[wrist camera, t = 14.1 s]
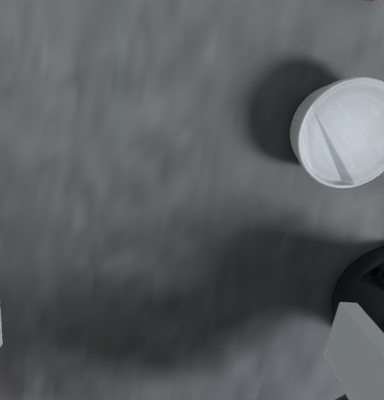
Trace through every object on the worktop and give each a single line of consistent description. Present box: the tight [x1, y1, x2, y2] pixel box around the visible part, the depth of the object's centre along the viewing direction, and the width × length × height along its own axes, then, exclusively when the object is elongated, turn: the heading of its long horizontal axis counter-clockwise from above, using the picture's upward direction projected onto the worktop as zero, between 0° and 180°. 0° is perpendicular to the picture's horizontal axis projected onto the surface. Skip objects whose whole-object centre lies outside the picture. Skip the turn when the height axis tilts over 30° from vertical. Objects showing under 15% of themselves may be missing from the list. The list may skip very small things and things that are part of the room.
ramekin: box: [290, 77, 384, 188], centre depth 36 cm, size 11×11×5 cm
